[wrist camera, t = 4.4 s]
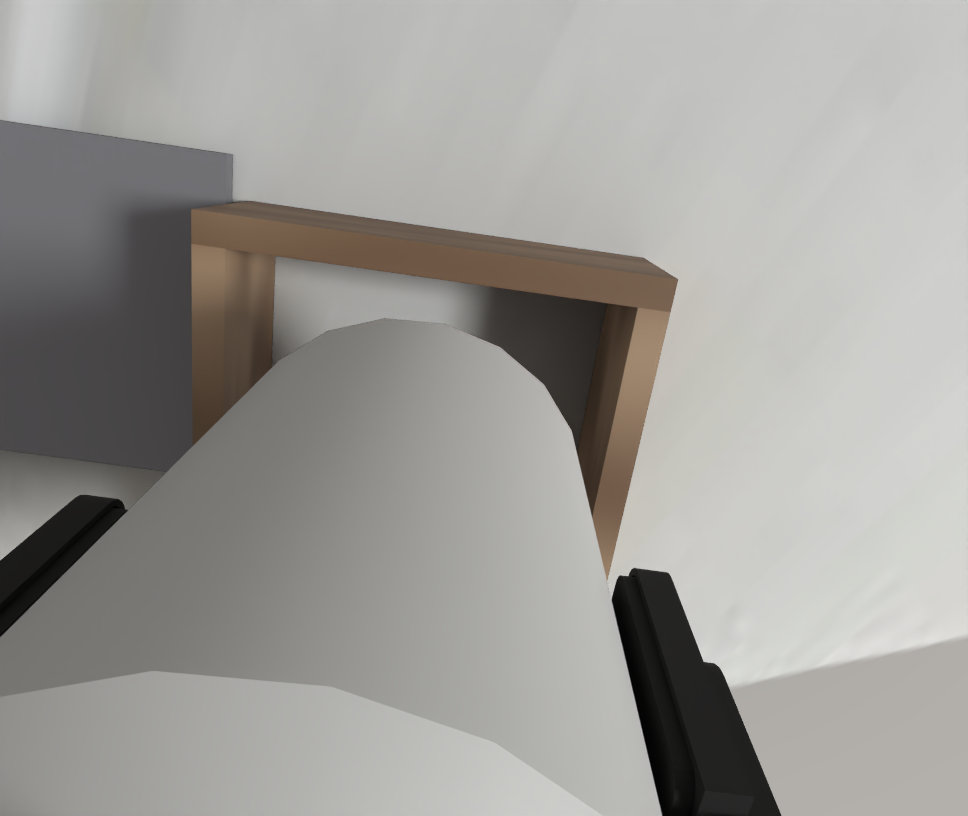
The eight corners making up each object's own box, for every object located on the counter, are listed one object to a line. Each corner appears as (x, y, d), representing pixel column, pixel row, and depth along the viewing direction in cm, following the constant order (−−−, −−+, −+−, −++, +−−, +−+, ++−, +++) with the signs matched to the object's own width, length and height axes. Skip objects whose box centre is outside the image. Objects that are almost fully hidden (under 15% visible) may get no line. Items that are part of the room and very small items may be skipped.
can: (336, 641, 17) (33, 1561, 6) (182, 381, 15) (-811, 1138, 4) (620, 551, 16) (889, 1493, 5) (505, 251, 14) (517, 781, 2)
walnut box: (249, 200, 20) (191, 209, 16) (643, 257, 20) (677, 279, 16) (242, 547, 24) (193, 619, 20) (572, 589, 24) (586, 669, 20)
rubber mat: (-127, 101, 19) (-143, 99, 18) (232, 154, 19) (226, 154, 19) (-78, 432, 22) (-90, 437, 22) (228, 472, 23) (222, 478, 22)
